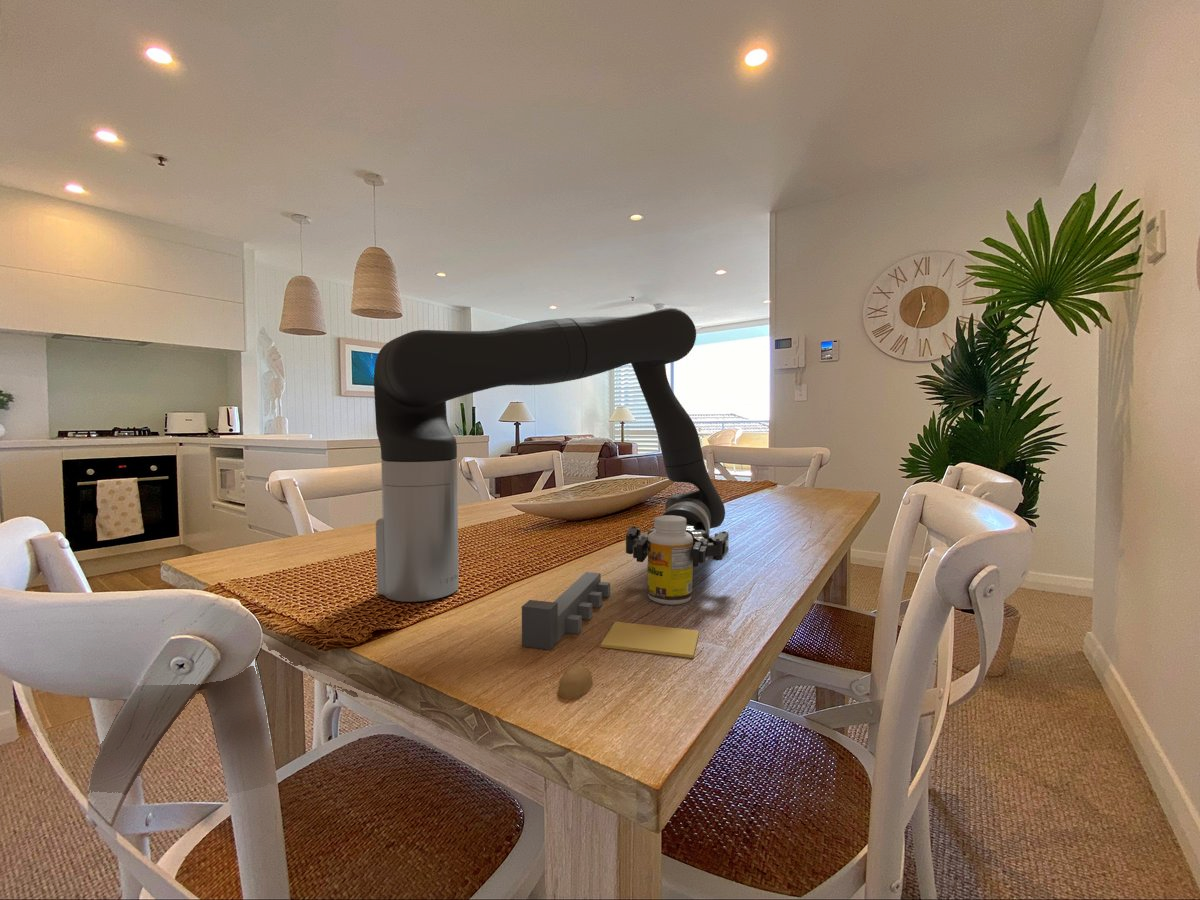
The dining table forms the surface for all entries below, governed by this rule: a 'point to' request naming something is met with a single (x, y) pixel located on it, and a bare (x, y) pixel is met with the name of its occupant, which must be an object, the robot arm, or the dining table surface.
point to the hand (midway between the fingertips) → (667, 555)
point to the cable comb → (562, 612)
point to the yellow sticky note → (652, 639)
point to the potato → (575, 682)
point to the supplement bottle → (670, 561)
